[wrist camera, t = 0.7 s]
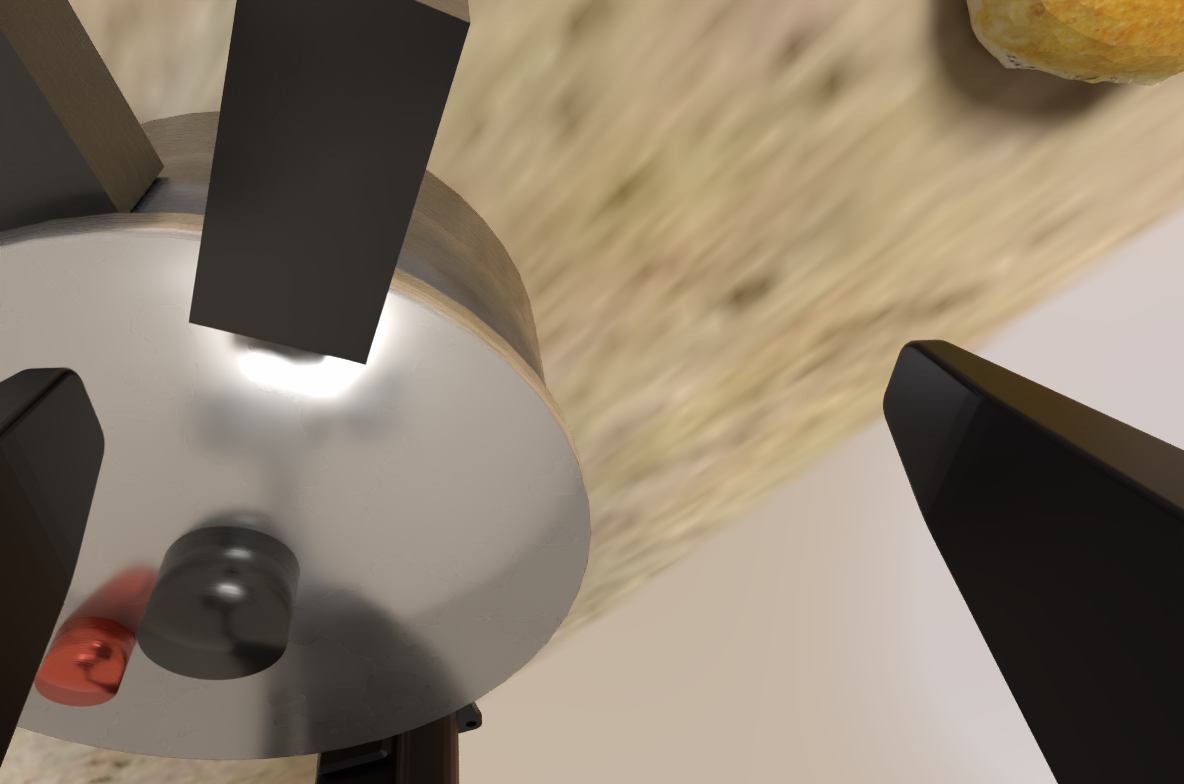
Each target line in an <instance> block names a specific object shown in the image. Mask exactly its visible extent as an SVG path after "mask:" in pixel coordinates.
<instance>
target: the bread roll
mask: <svg viewBox="0 0 1184 784" xmlns="http://www.w3.org/2000/svg"><path fill="white" fill-rule="evenodd" d="M966 1H967V6H968V10H969V16H970V22H971V26H972V29H973V31H974V33H975V35H976V37H977V39H978V41H979V42H980V43H981V44H982V45H983V46H984V47H985V48H986V49H987V50H988V51H989V52H990V53H991V54H992V56H994V57H995V58H997V59H998V60H999V62H1000V63H1001V64H1002V65H1003V66H1004V67H1005V68H1014V69H1016V68H1019V69H1021V68H1022V69H1032V70H1040V71H1043V72H1046V73H1050V74H1054V75H1057V76H1059V77H1062V78H1065V79H1070V80H1081V81H1085V82H1089V83H1097V82H1101V81H1109V82H1113V83H1122V84H1139V85H1148V86H1154V85H1159V84H1161V83H1162V82H1163V81H1164V80H1166V79H1167V78H1169V77H1170V76H1173V75H1175V74H1178V73H1180V72H1183V71H1184V0H966Z"/></svg>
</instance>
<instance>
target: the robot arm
mask: <svg viewBox="0 0 1184 784" xmlns="http://www.w3.org/2000/svg"><path fill="white" fill-rule="evenodd" d="M883 410H884V415H885V419H886V421H887V424H888V426H889V429H890V432H891V434H892V437H893V440H894V442H895V445H896V448H897V450H898V453H899V456H900V458H901V461H902V464H903V466H904V469H905V471H906V474H907V477H908V479H909V482H910V485H911V487H912V490H913V493H914V495H915V498H916V501H917V503H918V506H919V508H920V511H921V513H922V515H923V518H924V520H925V522H926V524H927V527H928V529H929V531H930V533H931V535H932V537H933V539H934V541H935V543H936V545H937V547H938V549H939V551H940V553H941V555H942V557H943V559H944V561H945V563H946V565H947V567H948V569H949V570H950V573H951V575H952V577H953V579H954V580H955V582H956V584H957V586H958V588H959V590H960V592H961V594H962V596H963V598H964V600H965V602H966V604H967V606H968V608H969V610H970V612H971V614H972V615H973V618H974V620H975V622H976V624H977V626H978V628H979V630H980V631H981V633H982V636H983V638H984V639H985V641H986V643H987V645H988V647H989V649H990V651H991V653H992V655H993V657H994V659H995V661H996V663H997V665H998V667H999V669H1000V671H1001V673H1002V675H1003V677H1004V679H1005V681H1006V683H1007V685H1008V686H1009V689H1010V690H1011V692H1012V695H1013V696H1014V698H1015V700H1016V702H1017V704H1018V706H1019V708H1020V710H1021V712H1022V714H1023V716H1024V718H1025V720H1026V722H1027V724H1028V726H1029V728H1030V730H1031V732H1032V734H1033V736H1034V738H1035V739H1036V741H1037V743H1038V746H1039V748H1040V750H1041V751H1042V753H1043V755H1044V757H1045V759H1046V761H1047V763H1048V765H1049V767H1050V769H1051V771H1052V773H1053V775H1054V777H1055V779H1056V781H1057V783H1058V784H1184V450H1182V449H1180V448H1178V447H1175V446H1173V445H1171V444H1169V443H1167V442H1164V441H1162V440H1160V439H1158V438H1156V437H1153V436H1151V435H1149V434H1147V433H1145V432H1143V431H1141V430H1138V429H1136V428H1134V427H1132V426H1130V425H1127V424H1125V423H1123V422H1121V421H1119V420H1117V419H1114V418H1112V417H1110V416H1108V415H1106V414H1103V413H1101V412H1099V411H1097V410H1095V409H1092V408H1090V407H1088V406H1086V405H1084V404H1082V403H1079V402H1077V401H1075V400H1073V399H1071V398H1068V397H1066V396H1064V395H1062V394H1060V393H1058V392H1055V391H1053V390H1051V389H1049V388H1047V387H1045V386H1042V385H1040V384H1038V383H1036V382H1034V381H1031V380H1029V379H1027V378H1025V377H1023V376H1020V375H1018V374H1016V373H1014V372H1011V371H1010V370H1007V369H1005V368H1003V367H1001V366H998V365H997V364H994V363H992V362H990V361H988V360H986V359H983V358H981V357H979V356H977V355H975V354H973V353H970V352H968V351H966V350H964V349H962V348H959V347H957V346H955V345H953V344H951V343H949V342H946V341H943V340H914V341H910V342H908V343H907V344H905V345H904V347H903V348H902V349H901V351H900V354H899V356H898V359H897V362H896V365H895V367H894V370H893V373H892V375H891V378H890V381H889V384H888V386H887V389H886V392H885V395H884V400H883ZM104 450H105V438H104V433H103V430H102V427H101V424H100V422H99V419H98V417H97V415H96V412H95V410H94V407H93V405H92V402H91V400H90V398H89V395H88V393H87V390H86V388H85V385H84V383H83V381H82V379H81V377H80V376H79V375H78V373H77V372H76V371H74V370H72V369H70V368H67V367H58V368H30V369H25V370H22V371H20V372H18V373H16V374H14V375H13V376H11V377H9V378H7V379H5V380H3V381H1V382H0V767H1V765H2V762H3V760H4V757H5V755H6V752H7V749H8V747H9V744H10V742H11V739H12V736H13V734H14V731H15V729H16V726H17V724H18V721H19V718H20V716H21V713H22V711H23V708H24V705H25V703H26V700H27V698H28V695H29V693H30V690H31V687H32V685H33V682H34V680H35V677H36V675H37V672H38V669H39V667H40V664H41V662H42V659H43V656H44V654H45V651H46V649H47V646H48V644H49V641H50V638H51V636H52V633H53V631H54V628H55V625H56V623H57V620H58V618H59V615H60V613H61V610H62V607H63V605H64V602H65V599H66V596H67V594H68V591H69V588H70V585H71V582H72V579H73V576H74V572H75V569H76V565H77V561H78V558H79V554H80V549H81V545H82V541H83V537H84V533H85V529H86V525H87V521H88V517H89V513H90V509H91V505H92V501H93V497H94V493H95V489H96V484H97V480H98V476H99V472H100V468H101V464H102V460H103V456H104ZM481 724H482V715H481V712H480V710H479V709H478V707H477V705H476V703H475V702H474V701H473V702H472V703H470V704H468V705H466V706H464V707H462V708H460V709H458V710H456V711H454V712H453V713H451V714H449V715H447V716H444V717H442V718H439V719H437V720H435V721H432V722H430V723H427V724H425V725H423V726H420V727H418V728H415V729H412V730H409V731H406V732H403V733H400V734H397V735H394V736H391V737H388V738H384V739H381V740H377V741H373V742H369V743H365V744H361V745H357V746H353V747H348V748H343V749H338V750H332V751H326V752H320V753H319V754H318V761H317V772H316V780H315V784H459V749H458V748H459V747H458V733H462V732H466V731H470V730H474V729H477V728H479V727H480V726H481Z"/></svg>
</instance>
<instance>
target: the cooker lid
mask: <svg viewBox="0 0 1184 784" xmlns="http://www.w3.org/2000/svg"><path fill="white" fill-rule="evenodd" d="M469 26H470V16H469V7H468V0H237V2H236V9H235V16H234V22H233V29H232V36H231V42H230V49H229V56H228V62H227V69H226V76H225V82H224V89H223V96H222V102H221V109H220V116H219V122H218V129H217V136H216V142H215V149H214V156H213V162H212V169H211V176H210V182H209V189H208V196H207V202H206V209H205V216H204V215H195V214H187V213H109V214H99V215H90V216H81V217H72V218H63V219H53V220H48V221H44V222H40V223H36V224H32V225H27V226H23V227H19V228H15V229H11V230H6V231H2V232H0V382H1V381H3V380H5V379H7V378H9V377H11V376H13V375H14V374H16V373H18V372H20V371H22V370H25V369H30V368H58V367H67V368H70V369H72V370H74V371H76V372H77V373H78V375H79V376H80V377H81V379H82V381H83V383H84V385H85V388H86V390H87V393H88V395H89V398H90V400H91V402H92V405H93V407H94V410H95V412H96V415H97V417H98V419H99V422H100V424H101V427H102V430H103V433H104V438H105V450H104V456H103V460H102V464H101V468H100V472H99V476H98V480H97V484H96V489H95V493H94V497H93V501H92V505H91V509H90V513H89V517H88V521H87V525H86V529H85V533H84V537H83V541H82V545H81V549H80V554H79V558H78V561H77V565H76V569H75V572H74V576H73V579H72V582H71V585H70V588H69V591H68V594H67V596H66V599H65V602H64V605H63V607H62V610H61V613H60V615H59V618H58V620H57V623H56V625H55V628H54V631H53V633H52V636H51V638H50V641H49V644H48V646H47V649H46V651H45V654H44V656H43V659H42V662H41V664H40V667H39V669H38V672H37V675H36V677H35V680H34V682H33V685H32V687H31V690H30V693H29V695H28V698H27V700H26V703H25V705H24V708H23V711H22V713H21V716H20V718H19V721H18V724H17V726H18V727H21V728H25V729H28V730H31V731H35V732H38V733H42V734H45V735H48V736H52V737H55V738H59V739H62V740H67V741H71V742H76V743H80V744H85V745H89V746H94V747H98V748H103V749H109V750H115V751H122V752H129V753H135V754H142V755H149V756H161V757H172V758H183V759H210V760H243V759H268V758H279V757H289V756H298V755H308V754H314V753H320V752H326V751H332V750H338V749H343V748H348V747H353V746H357V745H361V744H365V743H369V742H373V741H377V740H381V739H384V738H388V737H391V736H394V735H397V734H400V733H403V732H406V731H409V730H412V729H415V728H418V727H420V726H423V725H425V724H427V723H430V722H432V721H435V720H437V719H439V718H442V717H444V716H447V715H449V714H451V713H453V712H454V711H456V710H458V709H460V708H462V707H464V706H466V705H468V704H470V703H472V702H473V701H475V700H477V699H479V698H480V697H482V696H483V695H485V694H486V693H488V692H489V691H491V690H493V689H494V688H496V687H497V686H499V685H500V684H502V683H503V682H505V681H506V680H507V679H508V678H509V677H511V676H512V675H513V674H514V673H516V672H517V671H518V670H519V669H520V668H522V667H523V666H524V665H525V664H526V663H528V662H529V661H530V660H531V659H532V657H533V656H534V655H535V654H536V653H537V652H538V651H539V650H540V649H541V648H542V647H543V646H544V645H545V644H546V643H547V642H548V641H549V639H550V638H551V637H552V635H553V634H554V632H555V631H556V630H557V628H558V627H559V625H560V624H561V623H562V621H563V620H564V618H565V617H566V615H567V613H568V611H569V609H570V607H571V605H572V603H573V601H574V599H575V597H576V595H577V593H578V591H579V589H580V586H581V582H582V579H583V576H584V572H585V569H586V566H587V562H588V554H589V545H590V536H591V527H590V514H589V501H588V496H587V491H586V487H585V482H584V477H583V472H582V468H581V464H580V461H579V457H578V453H577V449H576V446H575V442H574V438H573V436H572V434H571V432H570V430H569V428H568V426H567V423H566V421H565V419H564V417H563V415H562V413H561V410H560V408H559V406H558V405H557V403H556V402H555V400H554V399H553V397H552V396H551V394H550V393H549V391H548V390H547V388H546V387H545V385H544V384H543V382H542V381H541V380H540V378H539V377H538V375H537V374H536V372H535V371H534V370H533V369H532V368H531V367H530V366H529V365H528V364H527V363H526V362H525V360H524V359H523V358H522V357H521V356H520V355H519V354H518V353H517V352H516V351H515V350H514V348H513V347H512V346H511V345H510V344H509V343H508V342H507V341H506V340H505V339H504V338H503V337H501V336H500V335H499V334H498V333H496V332H495V331H494V330H493V329H492V328H490V327H489V326H488V325H487V324H486V323H484V322H483V321H482V320H481V319H479V318H478V317H477V316H476V315H475V314H473V313H472V312H471V311H470V310H469V309H467V308H465V307H464V306H462V305H461V304H459V303H458V302H456V301H454V300H453V299H451V298H450V297H448V296H446V295H445V294H443V293H442V292H440V291H439V290H437V289H435V288H434V287H432V286H431V285H429V284H428V283H426V282H424V281H423V280H420V279H418V278H416V277H414V276H412V275H410V274H408V273H406V272H404V271H402V270H400V269H398V268H396V264H397V261H398V258H399V255H400V251H401V248H402V245H403V242H404V238H405V235H406V232H407V229H408V225H409V222H410V219H411V215H412V212H413V209H414V206H415V202H416V199H417V196H418V193H419V189H420V186H421V183H422V180H423V176H424V173H425V170H426V166H427V163H428V160H429V157H430V153H431V150H432V147H433V144H434V140H435V137H436V134H437V130H438V127H439V124H440V121H441V117H442V114H443V111H444V108H445V104H446V101H447V98H448V95H449V91H450V88H451V85H452V81H453V78H454V75H455V72H456V68H457V65H458V62H459V59H460V55H461V52H462V49H463V46H464V42H465V39H466V36H467V32H468V29H469Z"/></svg>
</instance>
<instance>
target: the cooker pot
mask: <svg viewBox="0 0 1184 784" xmlns="http://www.w3.org/2000/svg"><path fill="white" fill-rule="evenodd" d="M219 116H220V112H205V113H190V114H185V115H180V116H175V117H169V118H164V119H159V120H154V121H150V122H147V123H144V124H141V125H140V124H139V122H138V120H137V119H136V117H135V115H134V114H133V112H132V110H131V108H130V107H129V105H128V103H127V101H126V100H125V98H124V96H123V95H122V93H121V91H120V89H119V88H118V86H117V84H116V83H115V81H114V79H113V77H112V76H111V74H110V72H109V71H108V69H107V67H106V65H105V64H104V62H103V60H102V58H101V57H100V55H99V53H98V52H97V50H96V48H95V46H94V45H93V43H92V41H91V40H90V38H89V36H88V34H87V33H86V31H85V29H84V28H83V26H82V24H81V22H80V21H79V19H78V17H77V15H76V14H75V12H74V10H73V9H72V7H71V5H70V3H69V2H68V0H0V232H2V231H6V230H11V229H15V228H19V227H23V226H27V225H32V224H36V223H40V222H44V221H48V220H53V219H63V218H72V217H81V216H90V215H99V214H109V213H187V214H195V215H204V216H205V209H206V202H207V196H208V189H209V182H210V176H211V169H212V162H213V156H214V149H215V142H216V136H217V129H218V122H219ZM396 268H398V269H400V270H402V271H404V272H406V273H408V274H410V275H412V276H414V277H416V278H418V279H420V280H423V281H424V282H426V283H428V284H429V285H431V286H432V287H434V288H435V289H437V290H439V291H440V292H442V293H443V294H445V295H446V296H448V297H450V298H451V299H453V300H454V301H456V302H458V303H459V304H461V305H462V306H464V307H465V308H467V309H469V310H470V311H471V312H472V313H473V314H475V315H476V316H477V317H478V318H479V319H481V320H482V321H483V322H484V323H486V324H487V325H488V326H489V327H490V328H492V329H493V330H494V331H495V332H496V333H498V334H499V335H500V336H501V337H503V338H504V339H505V340H506V341H507V342H508V343H509V344H510V345H511V346H512V347H513V348H514V350H515V351H516V352H517V353H518V354H519V355H520V356H521V357H522V358H523V359H524V360H525V362H526V363H527V364H528V365H529V366H530V367H531V368H532V369H533V370H534V371H535V372H536V374H537V375H538V377H539V378H540V380H541V381H542V382H543V384H544V385H545V387H546V384H545V379H544V373H543V367H542V362H541V356H540V350H539V345H538V339H537V333H536V327H535V323H534V318H533V314H532V309H531V305H530V300H529V298H528V295H527V293H526V290H525V287H524V285H523V282H522V280H521V277H520V274H519V272H518V271H517V269H516V267H515V265H514V263H513V262H512V260H511V258H510V256H509V255H508V253H507V251H506V249H505V247H504V246H503V244H502V243H501V242H500V241H499V239H498V238H497V237H496V235H495V234H494V233H493V231H492V230H491V229H490V227H489V226H488V225H487V223H486V222H485V221H484V220H483V219H482V218H481V217H480V216H479V215H478V214H477V213H476V212H475V211H474V210H473V209H472V208H471V206H470V205H469V204H468V203H467V202H466V201H465V200H464V199H463V198H462V197H461V196H460V195H458V194H457V193H456V192H455V191H453V190H452V189H451V188H450V187H448V186H447V185H446V184H444V183H443V182H442V181H441V180H439V179H438V178H437V177H435V176H434V175H433V174H432V173H430V172H429V171H427V170H425V173H424V176H423V180H422V183H421V186H420V189H419V193H418V196H417V199H416V202H415V206H414V209H413V212H412V215H411V219H410V222H409V225H408V229H407V232H406V235H405V238H404V242H403V245H402V248H401V251H400V255H399V258H398V261H397V264H396Z"/></svg>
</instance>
